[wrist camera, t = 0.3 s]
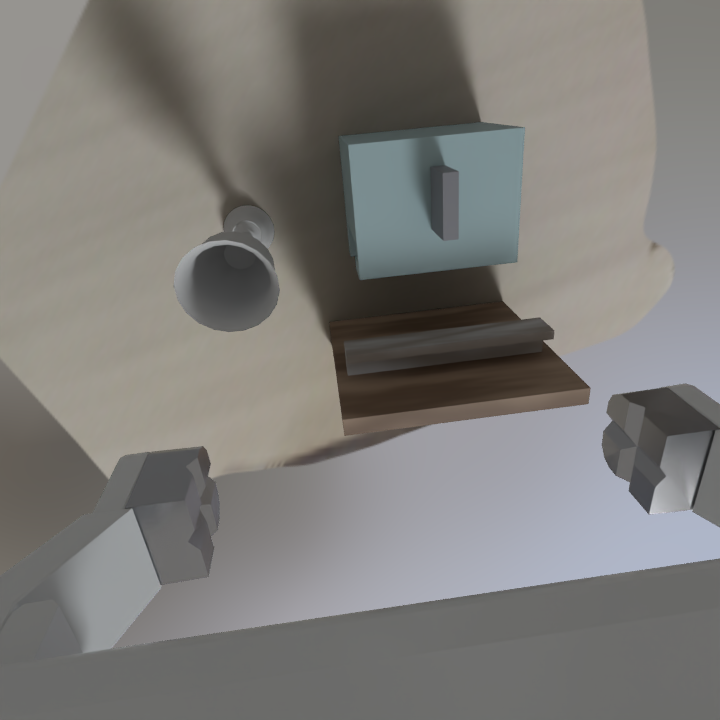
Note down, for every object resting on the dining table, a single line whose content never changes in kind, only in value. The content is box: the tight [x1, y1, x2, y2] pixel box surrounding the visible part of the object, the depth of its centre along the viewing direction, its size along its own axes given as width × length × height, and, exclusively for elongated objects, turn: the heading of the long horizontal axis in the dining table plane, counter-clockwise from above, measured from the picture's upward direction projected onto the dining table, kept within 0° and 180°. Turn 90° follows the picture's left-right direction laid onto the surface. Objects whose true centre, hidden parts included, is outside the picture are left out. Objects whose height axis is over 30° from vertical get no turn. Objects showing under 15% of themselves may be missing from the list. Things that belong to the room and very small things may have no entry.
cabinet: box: [339, 122, 525, 280], centre depth 46 cm, size 11×14×15 cm
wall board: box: [329, 302, 590, 436], centre depth 50 cm, size 6×20×20 cm, turn 95°
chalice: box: [174, 205, 280, 332], centre depth 45 cm, size 7×7×18 cm
